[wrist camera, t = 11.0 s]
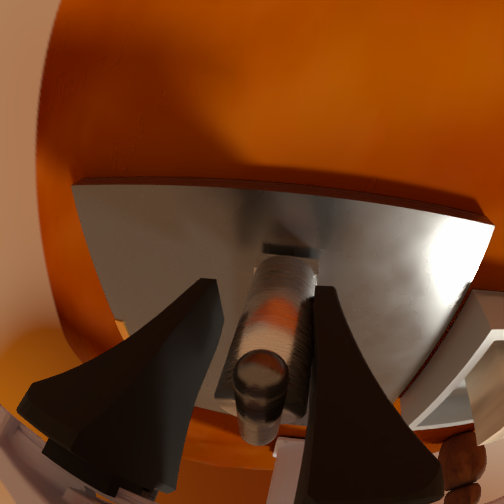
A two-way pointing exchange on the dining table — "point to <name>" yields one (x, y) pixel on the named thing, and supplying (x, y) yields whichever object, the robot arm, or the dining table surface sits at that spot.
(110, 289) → the base plate
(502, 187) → the dining table surface
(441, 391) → the tray
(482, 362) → the block
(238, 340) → the crank
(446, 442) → the wooden figurine
